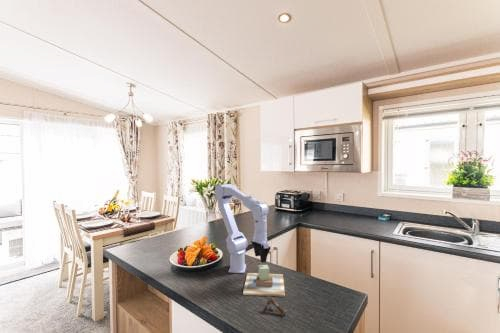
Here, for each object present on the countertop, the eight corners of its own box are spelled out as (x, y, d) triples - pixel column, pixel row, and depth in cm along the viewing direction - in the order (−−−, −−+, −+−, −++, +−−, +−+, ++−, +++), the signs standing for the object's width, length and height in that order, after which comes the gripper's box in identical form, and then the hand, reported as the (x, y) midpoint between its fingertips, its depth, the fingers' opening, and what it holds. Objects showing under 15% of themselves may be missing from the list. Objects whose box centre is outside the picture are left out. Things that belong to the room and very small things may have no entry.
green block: (258, 276, 108) (258, 265, 108) (267, 275, 108) (267, 264, 108) (260, 280, 104) (260, 269, 104) (269, 279, 104) (269, 268, 104)
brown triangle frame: (265, 303, 91) (269, 293, 89) (282, 319, 86) (287, 309, 85) (262, 305, 89) (267, 295, 88) (280, 321, 85) (284, 312, 84)
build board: (247, 274, 116) (247, 268, 116) (282, 276, 114) (282, 269, 114) (243, 294, 98) (243, 287, 98) (285, 296, 96) (285, 289, 96)
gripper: (247, 226, 117) (247, 254, 117) (257, 234, 103) (257, 266, 103) (261, 225, 119) (261, 252, 119) (272, 233, 105) (272, 264, 105)
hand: (260, 258), depth 111 cm, fingers open, 7 cm apart
